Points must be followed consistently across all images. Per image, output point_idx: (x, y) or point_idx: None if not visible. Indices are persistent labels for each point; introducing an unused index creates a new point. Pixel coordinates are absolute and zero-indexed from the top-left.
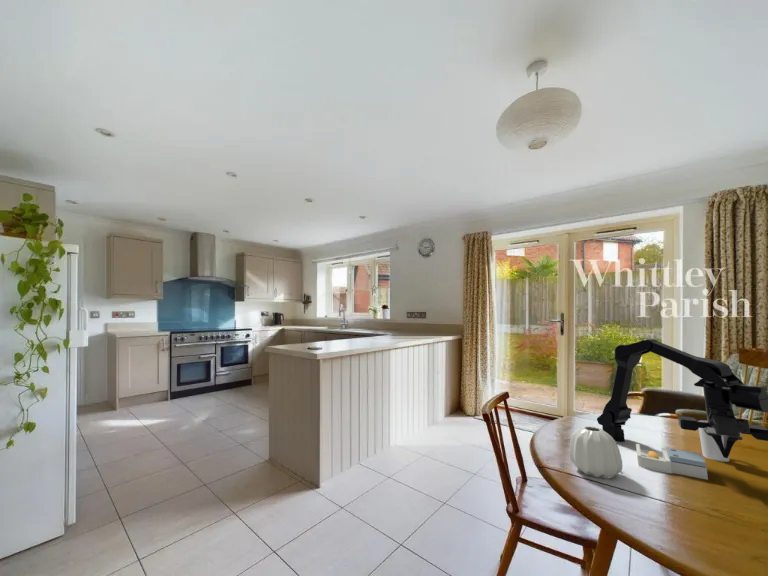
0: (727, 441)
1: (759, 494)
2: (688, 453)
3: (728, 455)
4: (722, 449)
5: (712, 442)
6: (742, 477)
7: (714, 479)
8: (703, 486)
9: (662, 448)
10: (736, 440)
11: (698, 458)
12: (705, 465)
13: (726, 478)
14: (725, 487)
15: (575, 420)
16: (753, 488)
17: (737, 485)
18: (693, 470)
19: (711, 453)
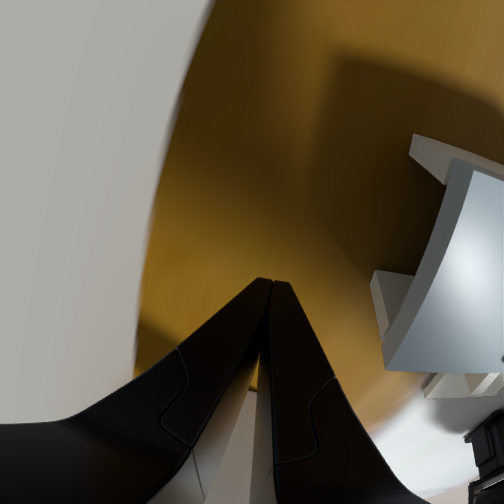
0: (177, 454)
1: (190, 78)
2: (470, 337)
3: (244, 290)
4: (293, 340)
5: (242, 467)
6: (201, 287)
7: (355, 200)
8: (457, 65)
9: (481, 391)
10: (1, 427)
11: (475, 257)
12: (464, 164)
13: (281, 244)
14: (343, 93)
15: (477, 474)
16: (192, 156)
17: (260, 160)
18: (495, 168)
19: None
